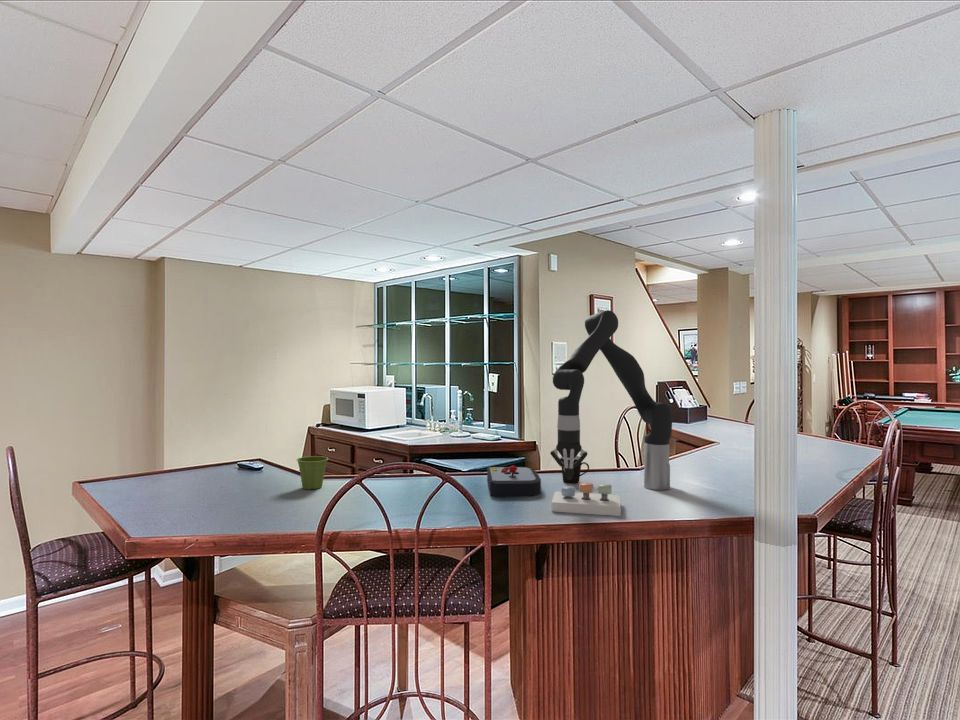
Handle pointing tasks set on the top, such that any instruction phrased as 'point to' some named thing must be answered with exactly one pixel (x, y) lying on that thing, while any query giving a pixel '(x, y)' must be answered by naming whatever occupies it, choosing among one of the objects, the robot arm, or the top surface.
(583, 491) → the terracotta button
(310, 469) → the plant pot
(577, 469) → the coffee mug
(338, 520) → the top surface
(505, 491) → the arcade joystick
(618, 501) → the console
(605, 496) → the sage button
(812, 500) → the top surface
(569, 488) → the slate button
